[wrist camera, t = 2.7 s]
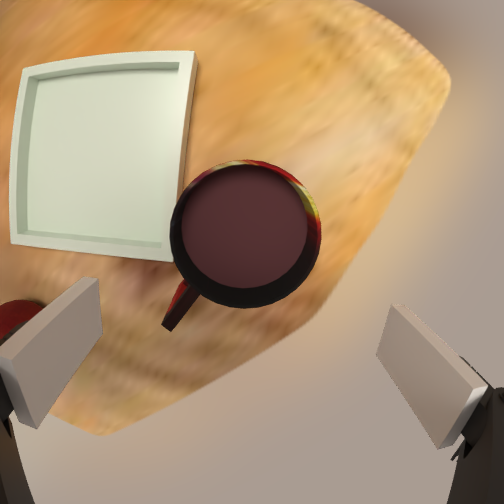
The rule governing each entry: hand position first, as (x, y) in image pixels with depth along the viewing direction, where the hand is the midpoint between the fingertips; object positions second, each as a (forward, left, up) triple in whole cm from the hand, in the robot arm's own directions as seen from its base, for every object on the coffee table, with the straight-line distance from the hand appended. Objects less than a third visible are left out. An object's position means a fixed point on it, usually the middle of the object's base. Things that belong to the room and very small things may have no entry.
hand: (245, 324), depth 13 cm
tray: (-7, -16, -19) cm, 26 cm away
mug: (0, 0, -20) cm, 20 cm away
